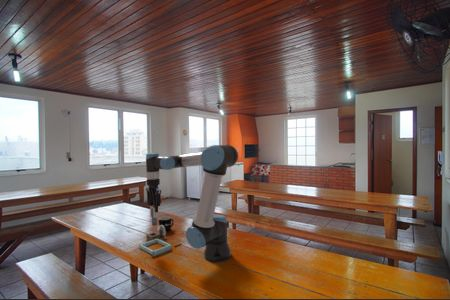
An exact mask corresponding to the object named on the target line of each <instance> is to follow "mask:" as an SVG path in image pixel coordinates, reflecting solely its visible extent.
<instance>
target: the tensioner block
mask: <svg viewBox="0 0 450 300" xmlns="http://www.w3.org/2000/svg"><path fill="white" fill-rule="evenodd" d="M156 230H157V231H156V232H155V231H153V232H150V233H148V234H147V233H146V236H145V237H146V239H145V241H146V242H149V241H152V240H155V239H159V240H164V239H167V236H166V235H167V232H166V229H165V227H164V226H163V225H159V224H158V226H157V229H156Z"/></svg>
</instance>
